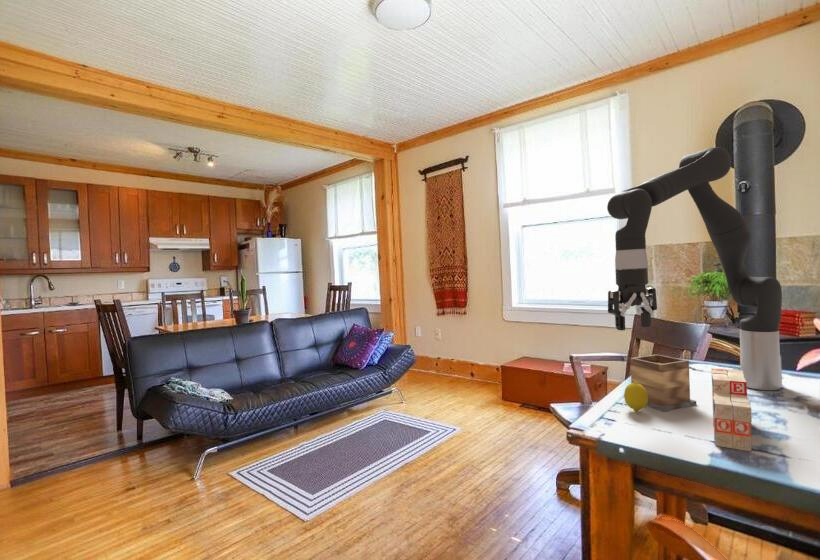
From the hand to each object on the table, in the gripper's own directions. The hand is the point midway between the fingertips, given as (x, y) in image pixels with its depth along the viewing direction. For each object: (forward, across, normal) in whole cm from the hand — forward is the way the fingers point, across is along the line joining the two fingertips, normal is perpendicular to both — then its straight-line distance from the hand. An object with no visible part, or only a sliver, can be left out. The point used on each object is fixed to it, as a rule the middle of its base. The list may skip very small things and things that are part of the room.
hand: (633, 328), depth 110 cm
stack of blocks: (+22, -8, +19) cm, 30 cm away
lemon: (+22, 0, 0) cm, 22 cm away
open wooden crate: (+22, -12, -3) cm, 25 cm away
